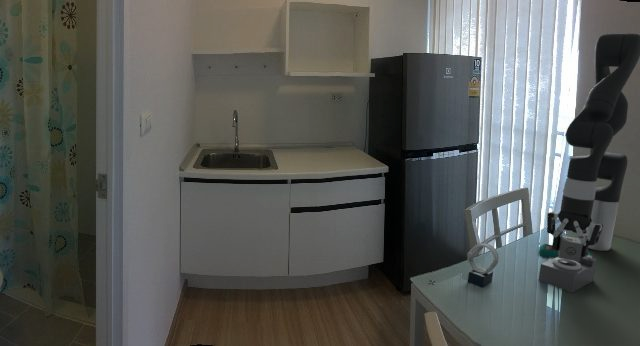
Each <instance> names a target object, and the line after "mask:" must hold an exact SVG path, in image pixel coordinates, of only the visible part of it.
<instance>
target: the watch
mask: <svg viewBox="0 0 640 346" xmlns="http://www.w3.org/2000/svg"><path fill="white" fill-rule="evenodd" d="M483 248H485V249H487V250H489V251H490V252H491V254H492V256H493V260H492V263H490V266H489V267H488V268H484V267H480V266H477V264H476V263H475V261H474V258H475V257H476V256H477V255H478V254H480V253H481V251H482V250H483ZM466 256H467V258H466V259H467V262H468V264H469V266H470V268H471V269H472V270H470V271H468V276H467V277H468V278H467V283H468V284H471V285H475V286H477V287H479V288H481V289H483V288H484V287H486V286H488V285H489V284H491V283H492V282H493V274H494V271H492V270H494V269H495V267H496V266H497V265H498V264H499V253H498V252H497V249H496V248H495V247H494V246H492V245H491V244H489V243H486V242H482V243H481V242H478V243H476V244H475V245H474V246H473V247H471V249H470V250H469V251H468V252H467V254H466Z"/></svg>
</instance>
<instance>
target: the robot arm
mask: <svg viewBox="0 0 640 346" xmlns="http://www.w3.org/2000/svg"><path fill="white" fill-rule="evenodd" d="M639 60H640V34H638V33H603V34H601V35H600V36H599V37H598V38H597V40H596V42H595V47H594V85H593V87H592V89H590V91H589V93H588V95H587V98H586V101H585V103H584V106H583V108H582V109H581V111H580V112H579V113H578V115H577V116H576V117H575V118H573V120H572V121H571V122H570V123H569V125H568V126H567V128H566V132H565V140H566V142H567V144H568V145H569V146H571V147H574V148H575V147H576V148H584V149H590V150H589V154H588V155H576V156H572V157H571V158H570V159H569V162H568V163H569V164H568V167H567V174H566V178H565V181H564V185H563V186H564V187H563V188H562V197H561V203H560V211H559V212H555V211H550V212H548V213H547V214H546V215H547V217H546V218H547V219H546V220H547V221H546V225H547V226H546V232H547V234H550V235H552V237H553V239H552V244H551V245H552V247H553V248H554V250H556V251H557V250H559V244H560V237H561V236H563V233H565V231H570V232H573V233H576V234H577V237H578V238H579V239H580V241H581V243H582V244H583V246H582V252H581V259H582V258H584V257H585V256H586V255H587V252H588V253H589V249H590V250H594V251H600V252H605V251H606V252H607V251H611V246H612V239H613V235H614V229H615V224H616V218H617V214H618V210H619V208H618V207H619V204H620V199H621V198H620V197H621V191H622V187H623V183H624V179H625V175H626V171H627V168H628V157H627V155H625V154H622V153H615V152H608V151H607V150H608V147H609V146H610V144H611V143H612V139H613V138H614V137H615V136H616V135H617V134H618V133H619V132H620V131H621V130H622V129H623V128H624V127H625V124H626V123H627V118H628V109H629V103H628V100H627V97H626V96H625V94H624V93H623V92H622V90H623V89H624V87H625V85H626V84H627V82H628V81H629V79H630V77H631V75H632V73H633V71H634V69H635V67H636V66H637V64H638V62H639ZM611 67H613V68H614V67H615V68H616V69H615V70H614V71H612V72H611V69H610V68H611ZM606 151H607V152H606ZM598 179H600V180H605V181H606V180H607V181H611V183H609V184H607V185H604V186H599V187H597V180H598ZM557 219H558V220H559V222H560V224H559V226H558V227H556V222H557Z"/></svg>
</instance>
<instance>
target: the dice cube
mask: <svg viewBox="0 0 640 346" xmlns="http://www.w3.org/2000/svg"><path fill="white" fill-rule="evenodd" d="M582 246H583V244H582V243H581V241H580V238H579V237H578V238H577V237H572V236H566V235H561V236H560V244H559V250H558V255H559V258H562V259H567V260H573V261H578V262H580V258H581V252H582Z"/></svg>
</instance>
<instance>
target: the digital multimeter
mask: <svg viewBox="0 0 640 346" xmlns="http://www.w3.org/2000/svg"><path fill="white" fill-rule="evenodd" d="M538 253H539V255H540V256H541V257H546V258H550V259H554V258H556V257H558V256H559V255H558V250H557V251H556V250H554V248H553V247H552V244H549V243H548V244H547V243H543V244H541V245H540V246H539V250H538ZM586 256H592V254H591V253H590V252H589V251H588V252H587V255H586Z"/></svg>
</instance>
